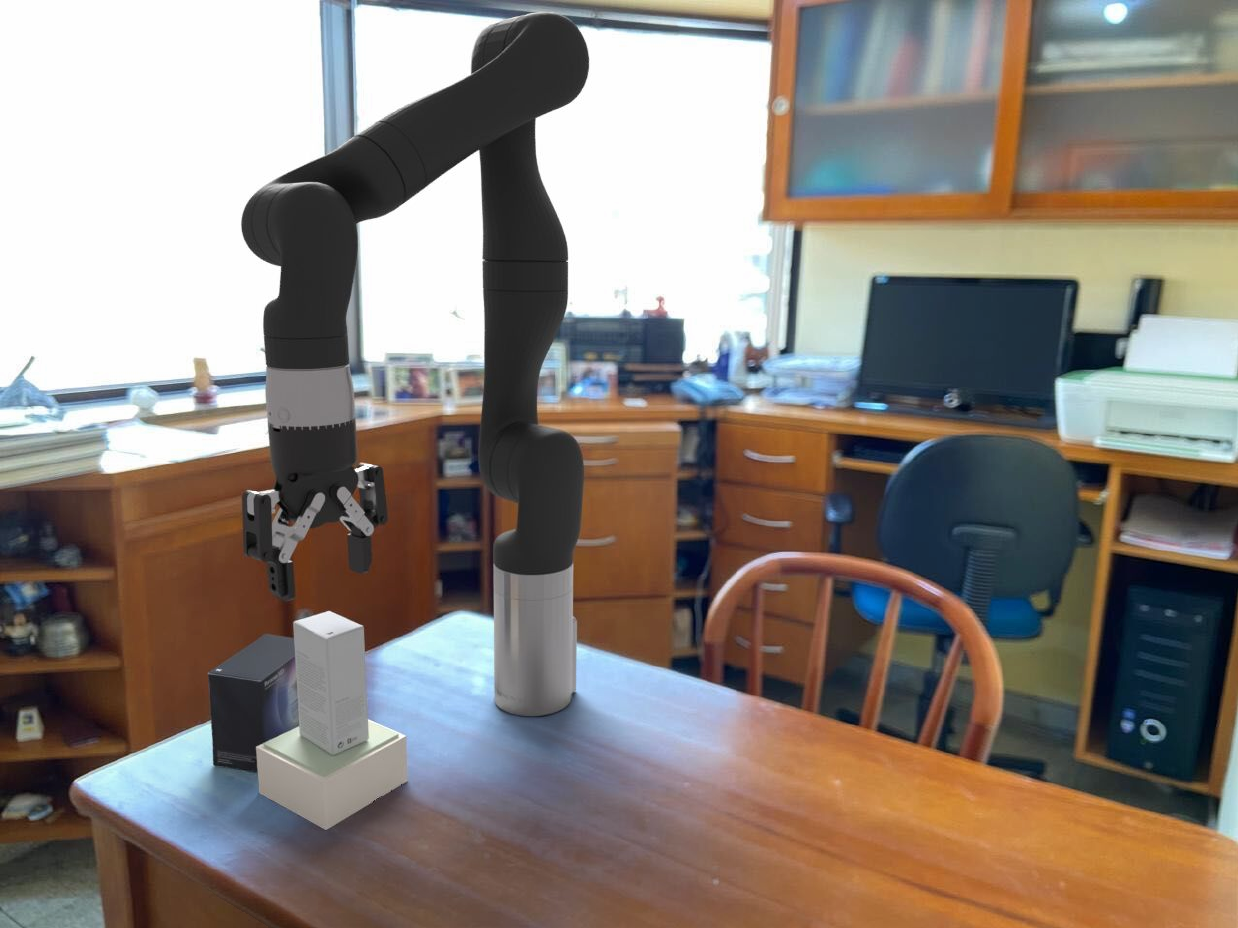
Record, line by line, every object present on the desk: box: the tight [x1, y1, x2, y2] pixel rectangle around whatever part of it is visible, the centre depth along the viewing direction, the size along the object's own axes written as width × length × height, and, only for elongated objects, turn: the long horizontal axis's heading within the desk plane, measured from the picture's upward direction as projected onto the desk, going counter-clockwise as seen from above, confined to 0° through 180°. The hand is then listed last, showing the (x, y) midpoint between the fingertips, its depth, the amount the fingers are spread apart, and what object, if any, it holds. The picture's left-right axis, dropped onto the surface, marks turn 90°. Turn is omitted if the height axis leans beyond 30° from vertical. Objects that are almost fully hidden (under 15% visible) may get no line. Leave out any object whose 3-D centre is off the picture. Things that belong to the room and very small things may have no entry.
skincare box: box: [292, 610, 369, 755], centre depth 89 cm, size 6×4×12 cm
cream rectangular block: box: [256, 718, 408, 831], centre depth 90 cm, size 10×10×5 cm
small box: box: [207, 633, 299, 773], centre depth 97 cm, size 11×6×10 cm, turn 168°
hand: (323, 584), depth 86 cm, fingers open, 8 cm apart
